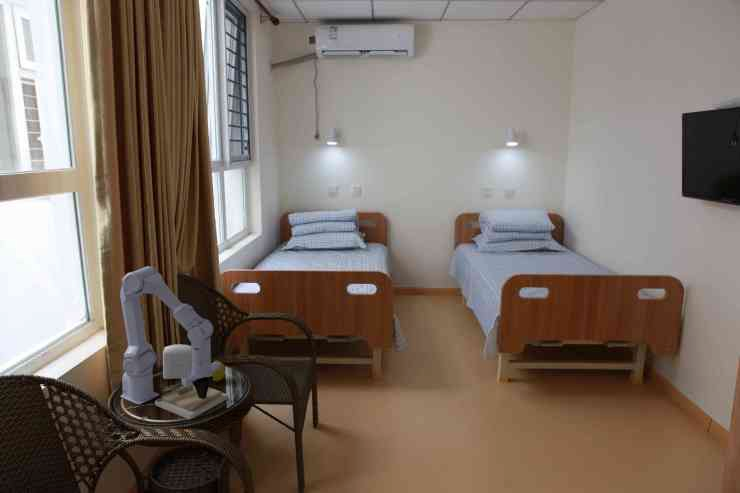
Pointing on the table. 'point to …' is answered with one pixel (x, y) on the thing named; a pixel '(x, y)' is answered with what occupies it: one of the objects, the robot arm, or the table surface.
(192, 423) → the table surface
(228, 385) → the table surface
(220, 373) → the lemon
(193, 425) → the table surface
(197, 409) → the light grey square plate
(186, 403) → the board
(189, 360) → the photo printer
